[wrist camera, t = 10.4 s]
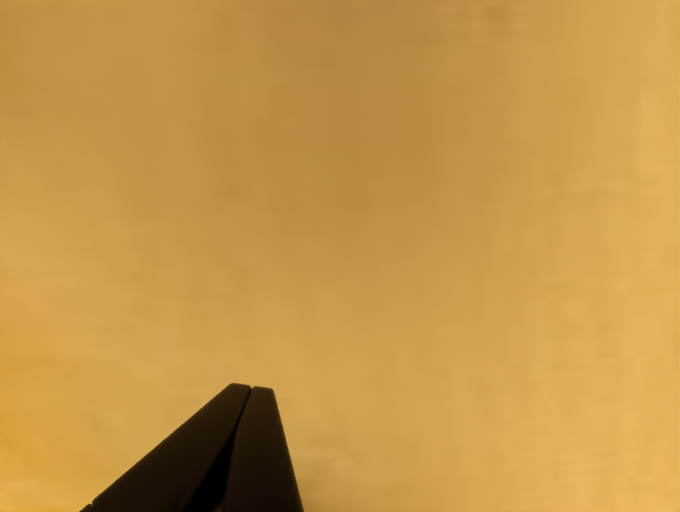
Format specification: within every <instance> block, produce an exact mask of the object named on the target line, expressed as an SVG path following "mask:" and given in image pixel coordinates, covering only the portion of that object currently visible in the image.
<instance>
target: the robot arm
mask: <svg viewBox="0 0 680 512" xmlns="http://www.w3.org/2000/svg"><path fill="white" fill-rule="evenodd" d="M79 512H304V510H303V506H302V502H301V498H300V494H299V490H298V486H297V482H296V478H295V474H294V470H293V466H292V462H291V458H290V454H289V450H288V446H287V442H286V438H285V434H284V430H283V426H282V422H281V418H280V414H279V410H278V406H277V402H276V398H275V394H274V391H273V389H271V388H266V387H259V386H254V387H253V388H251V386H250V385H245V384H238V383H232V384H229V385H228V386H227V387H226V388H225V389H223V390H222V391H221V392H220V393H219V394H218V395H216V396H215V397H214V398H213V399H212V400H210V401H209V402H208V403H207V404H206V405H205V406H203V407H202V408H201V409H200V410H199V411H198V412H196V413H195V414H194V415H193V416H192V417H190V418H189V419H188V420H187V421H186V422H185V423H183V424H182V425H181V426H180V427H179V428H177V429H176V430H175V431H174V432H173V433H172V434H170V435H169V436H168V437H167V438H166V439H165V440H163V441H162V442H161V443H160V444H159V445H157V446H156V447H155V448H154V449H153V450H152V451H150V452H149V453H148V454H147V455H146V456H145V457H143V458H142V459H141V460H140V461H139V462H137V463H136V464H135V465H134V466H133V467H132V468H130V469H129V470H128V471H127V472H126V473H124V474H123V475H122V476H121V477H120V478H119V479H117V480H116V481H115V482H114V483H113V484H112V485H110V486H109V487H108V488H107V489H106V490H104V491H103V492H102V493H101V494H100V495H99V496H97V497H96V498H95V499H94V500H93V501H92V504H88V505H86V506H85V507H84V508H83V509H82V510H81V511H79Z"/></svg>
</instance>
